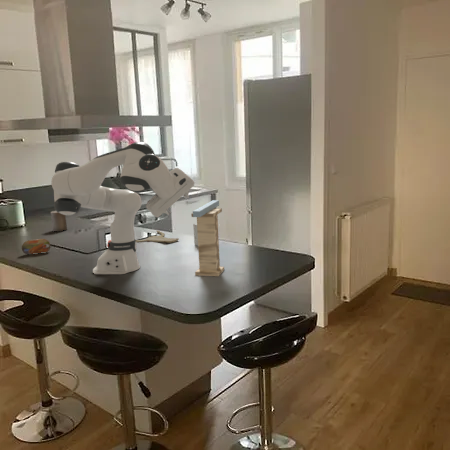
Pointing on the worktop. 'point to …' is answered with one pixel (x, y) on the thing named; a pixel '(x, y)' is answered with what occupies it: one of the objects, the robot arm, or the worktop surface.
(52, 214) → the pillar candle
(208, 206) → the frame bar
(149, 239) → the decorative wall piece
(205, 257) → the stand
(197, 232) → the supplement box
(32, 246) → the tin
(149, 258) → the worktop surface
